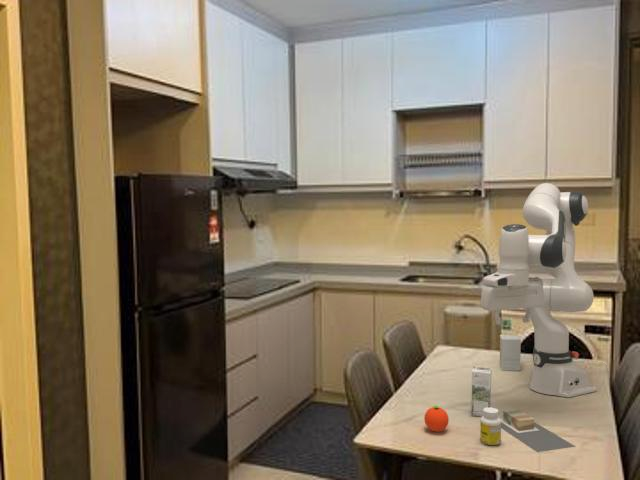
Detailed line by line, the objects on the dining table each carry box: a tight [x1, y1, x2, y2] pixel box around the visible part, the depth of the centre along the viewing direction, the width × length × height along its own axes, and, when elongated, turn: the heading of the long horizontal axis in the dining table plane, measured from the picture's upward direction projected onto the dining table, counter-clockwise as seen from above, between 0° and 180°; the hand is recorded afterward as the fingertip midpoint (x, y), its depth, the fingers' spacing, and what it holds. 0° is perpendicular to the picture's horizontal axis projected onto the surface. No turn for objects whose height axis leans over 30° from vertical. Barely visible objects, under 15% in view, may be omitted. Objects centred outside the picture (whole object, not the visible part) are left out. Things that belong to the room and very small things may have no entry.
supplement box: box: [499, 334, 522, 372], centre depth 227 cm, size 7×7×13 cm
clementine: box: [423, 405, 450, 433], centre depth 167 cm, size 8×7×7 cm
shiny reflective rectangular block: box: [502, 408, 535, 431], centre depth 169 cm, size 8×5×3 cm, turn 16°
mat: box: [500, 418, 576, 453], centre depth 163 cm, size 12×22×1 cm, turn 16°
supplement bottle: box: [479, 407, 502, 448], centre depth 157 cm, size 5×5×10 cm
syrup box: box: [470, 366, 493, 418], centre depth 179 cm, size 6×6×14 cm
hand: (512, 323), depth 175 cm, fingers open, 8 cm apart
